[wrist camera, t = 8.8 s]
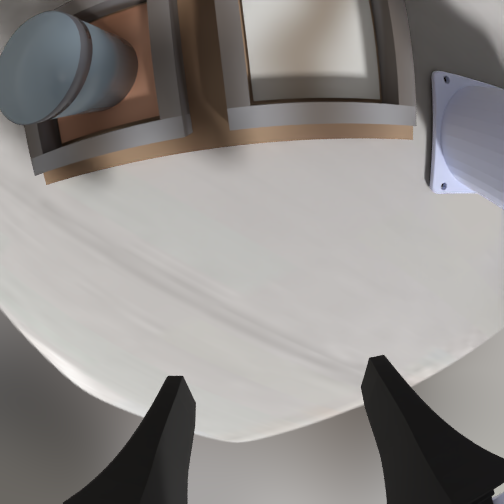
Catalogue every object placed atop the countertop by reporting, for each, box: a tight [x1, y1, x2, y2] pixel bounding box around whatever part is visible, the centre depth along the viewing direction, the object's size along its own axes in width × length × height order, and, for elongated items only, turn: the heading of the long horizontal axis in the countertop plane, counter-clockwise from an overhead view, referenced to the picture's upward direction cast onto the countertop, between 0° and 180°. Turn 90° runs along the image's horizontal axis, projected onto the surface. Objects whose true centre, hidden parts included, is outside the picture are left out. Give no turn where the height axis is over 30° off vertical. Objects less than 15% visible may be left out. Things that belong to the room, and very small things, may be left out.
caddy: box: [24, 0, 416, 185], centre depth 11 cm, size 22×11×3 cm, turn 96°
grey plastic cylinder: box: [0, 10, 138, 125], centre depth 9 cm, size 4×4×6 cm
